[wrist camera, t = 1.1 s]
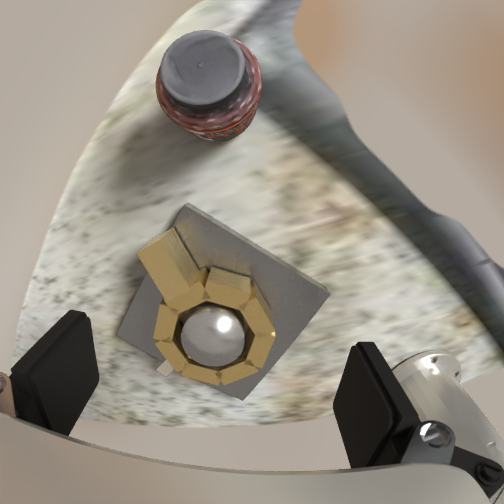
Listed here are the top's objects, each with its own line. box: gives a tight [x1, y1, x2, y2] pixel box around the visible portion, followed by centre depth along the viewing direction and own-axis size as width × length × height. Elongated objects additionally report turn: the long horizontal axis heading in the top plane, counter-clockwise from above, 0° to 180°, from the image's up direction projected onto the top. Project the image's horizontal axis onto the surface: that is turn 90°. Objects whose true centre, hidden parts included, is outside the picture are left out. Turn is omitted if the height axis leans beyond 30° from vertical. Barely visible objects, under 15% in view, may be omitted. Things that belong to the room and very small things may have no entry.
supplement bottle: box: [156, 30, 262, 141], centre depth 18 cm, size 6×6×11 cm
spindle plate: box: [116, 203, 330, 401], centre depth 26 cm, size 14×16×5 cm
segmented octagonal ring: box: [137, 227, 276, 385], centre depth 24 cm, size 13×9×4 cm
